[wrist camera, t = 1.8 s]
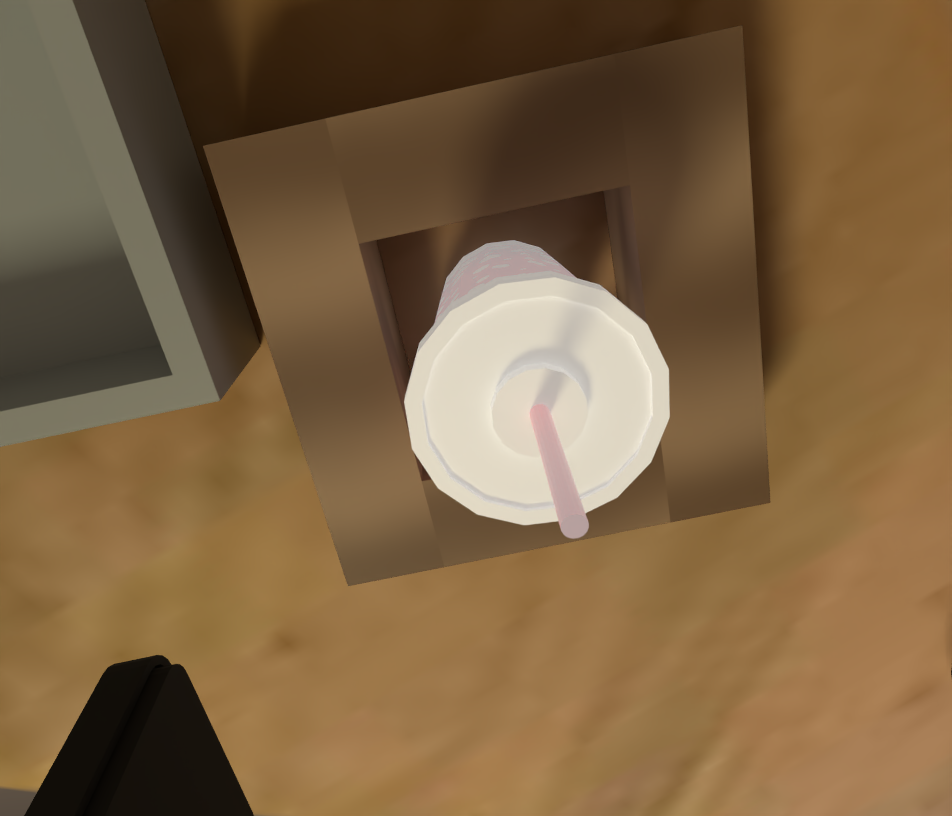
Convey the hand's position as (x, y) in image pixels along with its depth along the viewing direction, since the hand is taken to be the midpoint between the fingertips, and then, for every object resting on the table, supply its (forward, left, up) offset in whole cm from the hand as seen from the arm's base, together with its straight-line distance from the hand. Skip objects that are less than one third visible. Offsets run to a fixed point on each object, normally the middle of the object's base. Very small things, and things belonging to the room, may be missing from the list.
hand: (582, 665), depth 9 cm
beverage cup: (0, 0, -18) cm, 18 cm away
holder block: (0, 0, -18) cm, 18 cm away
